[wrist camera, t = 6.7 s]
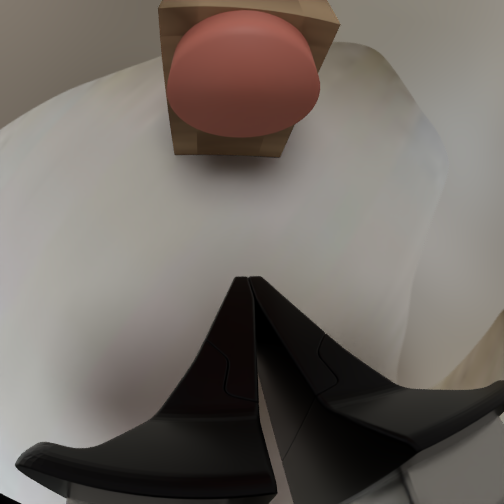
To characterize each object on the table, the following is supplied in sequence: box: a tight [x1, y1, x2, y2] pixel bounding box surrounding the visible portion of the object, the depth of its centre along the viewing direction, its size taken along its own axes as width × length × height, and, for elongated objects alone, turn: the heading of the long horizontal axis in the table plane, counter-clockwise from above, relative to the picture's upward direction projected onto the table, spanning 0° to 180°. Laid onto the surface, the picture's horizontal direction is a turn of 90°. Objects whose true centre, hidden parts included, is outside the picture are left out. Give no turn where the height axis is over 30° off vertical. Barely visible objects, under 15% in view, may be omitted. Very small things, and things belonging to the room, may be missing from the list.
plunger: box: [167, 10, 320, 137], centre depth 11 cm, size 8×6×6 cm
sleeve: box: [158, 0, 340, 157], centre depth 14 cm, size 5×7×11 cm
